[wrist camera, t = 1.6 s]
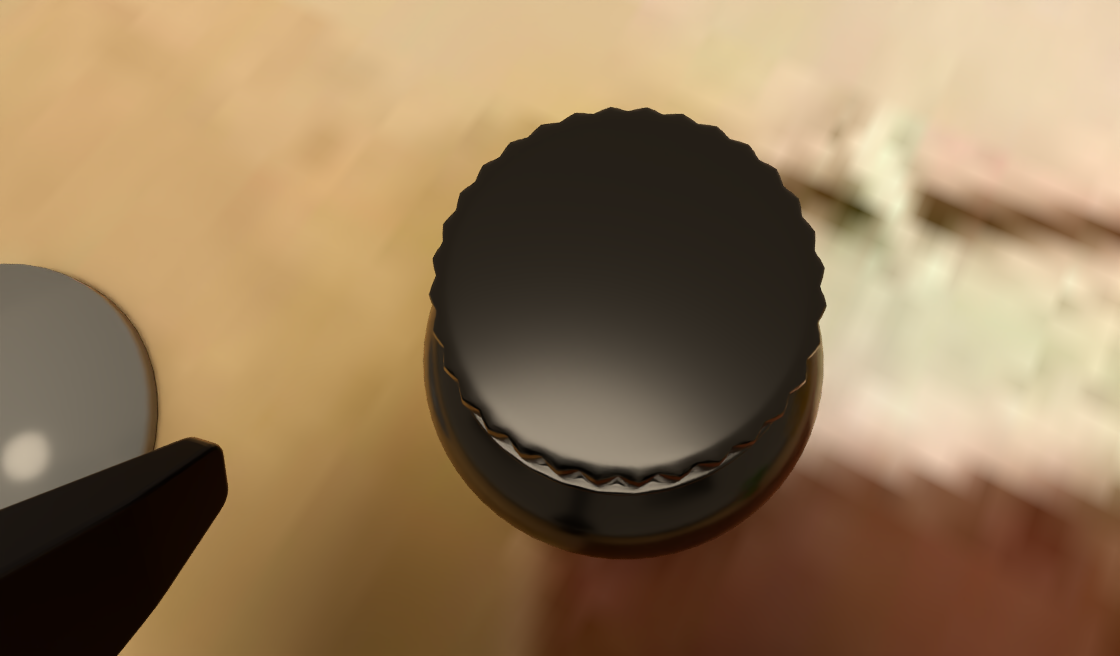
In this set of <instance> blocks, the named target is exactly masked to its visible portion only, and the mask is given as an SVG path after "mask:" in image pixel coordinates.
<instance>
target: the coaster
mask: <svg viewBox="0 0 1120 656" xmlns="http://www.w3.org/2000/svg"><path fill="white" fill-rule="evenodd" d="M156 425H157V392H156V386H155V380H154V374H153V370H152V366H151V363H150V360H149V357H148V354H147V351H146V349H145V347H144V345H143V343H142V341H141V339H140V336H139V334H138V332H137V331H136V330H135V328H134V327H133V325H132V324H131V322H130V321H129V320H128V318H127V317H126V315H125V314H124V313H123V312H122V311H121V310H120V309H119V308H118V307H117V306H116V305H115V304H114V303H113V302H112V301H110V300H109V299H108V298H106V297H105V296H104V295H102V294H101V293H100V292H98V291H97V290H95V289H93V288H91V287H89V286H87V285H86V284H84V283H82V282H80V281H78V280H75V279H73V278H71V277H69V276H67V275H64V274H61V273H58V272H55V271H52V270H50V269H47V268H42V267H36V266H31V265H24V264H0V509H3V508H5V507H8V506H11V505H13V504H16V503H18V502H21V501H24V500H26V499H29V498H31V497H34V496H36V495H39V494H42V493H44V492H47V491H49V490H52V489H55V488H57V487H60V486H62V485H65V484H68V483H70V482H73V481H75V480H78V479H81V478H83V477H86V476H88V475H91V474H93V473H96V472H99V471H101V470H104V469H106V468H109V467H112V466H114V465H117V464H119V463H122V462H125V461H127V460H130V459H132V458H135V457H138V456H140V455H143V454H145V453H148V452H151V451H153V447H154V443H155V436H156Z"/></svg>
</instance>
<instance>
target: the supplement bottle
mask: <svg viewBox="0 0 1120 656" xmlns="http://www.w3.org/2000/svg"><path fill="white" fill-rule="evenodd" d="M433 265H434V270H435V274H436V277H435V279H434V282H433V284H432V287H431V290H430V293H429V297H430V300H431V303H432V307H431V311H430V315H429V319H428V323H427V328H426V335H425V341H424V358H423V365H424V383H425V389H426V396H427V402H428V406H429V410H430V414H431V418H432V421H433V424H434V426H435V429H436V432H437V435H438V437H439V440H440V442H441V444H442V446H443V448H444V450H445V452H446V454H447V456H448V458H449V459H450V461H451V462H452V464H453V466H454V467H455V469H456V471H457V472H458V473H459V475H460V476H461V477H462V479H463V480H464V481H465V483H466V484H467V485H468V487H469V488H470V489H471V490H472V491H473V492H474V493H475V494H476V495H477V496H478V498H479V499H480V500H481V501H482V502H483V503H484V504H485V505H487V506H488V507H489V508H490V509H491V510H492V511H493V512H495V513H496V514H497V515H498V516H499V517H501V518H502V519H504V520H505V521H506V522H508V523H509V524H511V525H512V526H514V527H515V528H517V529H518V530H520V531H522V532H524V533H525V534H527V535H529V536H531V537H533V538H535V539H537V540H539V541H542V542H544V543H546V544H548V545H551V546H553V547H556V548H559V549H562V550H565V551H569V552H572V553H576V554H581V555H585V556H590V557H597V558H606V559H643V558H653V557H659V556H664V555H669V554H674V553H678V552H681V551H684V550H687V549H690V548H693V547H697V546H699V545H701V544H703V543H706V542H708V541H710V540H713V539H715V538H717V537H719V536H720V535H722V534H724V533H726V532H727V531H729V530H731V529H733V528H734V527H736V526H737V525H739V524H740V523H741V522H743V521H744V520H746V519H747V518H748V517H750V516H751V515H752V514H753V513H754V512H756V511H757V510H758V509H759V508H760V507H761V506H762V505H764V504H765V503H766V502H767V501H768V500H769V499H770V497H771V496H772V495H773V494H774V493H775V492H776V491H777V490H778V489H779V488H780V486H781V485H782V484H783V482H784V481H785V480H786V478H787V477H788V475H789V474H790V473H791V471H792V470H793V468H794V466H795V465H796V463H797V461H798V460H799V458H800V456H801V454H802V453H803V450H804V448H805V446H806V444H807V442H808V439H809V437H810V435H811V432H812V429H813V426H814V423H815V420H816V417H817V412H818V408H819V403H820V399H821V393H822V384H823V358H824V356H823V346H822V336H821V331H820V326H819V320H820V319H821V318H822V316H823V313H824V311H825V309H826V306H827V305H826V301H825V298H824V295H823V293H822V291H821V287H820V285H821V282H822V278H823V274H824V269H825V268H824V266H823V264H822V262H821V260H820V258H819V257H818V256H817V254H816V252H815V231H814V230H813V229H812V227H811V226H810V225H809V223H808V222H807V221H806V220H805V219H804V218H803V217H802V213H801V206H800V202H799V198H797V197H796V196H795V195H794V194H793V193H792V192H790V191H789V190H787V189H786V188H785V187H784V186H783V184H782V181H781V178H780V175H779V173H778V171H777V169H775V168H774V167H772V166H770V165H769V164H766V163H764V162H762V161H760V160H759V159H758V158H757V156H756V154H755V152H754V151H753V150H752V148H751V147H750V146H749V145H748V144H745V143H742V142H739V141H735V140H732V139H729V138H728V137H727V136H726V135H725V133H724V132H723V131H722V130H720V129H719V128H718V127H717V126H711V125H703V124H697V123H696V122H694V121H693V120H692V119H690V118H689V117H687V116H685V115H684V114H666V115H663V114H661V113H658V112H657V111H655V110H653V109H650V108H641V109H636V110H632V111H625V110H621V109H618V108H613V107H610V108H607V109H604V110H601V111H599V112H597V113H595V114H586V113H574V114H572V115H571V116H569V117H567V118H566V119H564V120H563V121H561V122H560V123H550V124H544V125H541V126H539V127H538V128H537V129H536V130H535V131H534V132H533V133H532V134H531V135H530V136H529V137H527V138H524V139H520V140H516V141H513V142H511V143H510V144H509V145H508V146H507V147H506V148H505V150H504V151H503V153H502V154H501V156H500V157H499V158H497V159H495V160H493V161H490V162H488V163H486V164H485V165H483V166H482V168H481V170H480V172H479V174H478V176H477V179H476V181H475V182H474V183H473V184H472V185H470V186H468V187H467V188H466V189H464V190H463V191H462V192H461V193H460V196H459V199H458V203H457V208H456V211H455V212H454V213H453V214H452V215H451V216H450V217H449V218H448V219H447V220H446V222H445V223H444V224H443V242H442V244H441V246H440V248H439V249H438V250H437V251H436V253H435V255H434V257H433Z"/></svg>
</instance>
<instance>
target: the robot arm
mask: <svg viewBox="0 0 1120 656" xmlns="http://www.w3.org/2000/svg"><path fill="white" fill-rule="evenodd" d="M227 494H228V483H227V476H226V469H225V462H224V455H223V450H222V449H221V447H220V446H219V445H217V444H215V443H212V442H209V441H206V440H203V439H199V438H195V437H189V438H185V439H182V440H179V441H176V442H174V443H171V444H169V445H166V446H163V447H161V448H158V449H156V450H153V451H151V452H148V453H145V454H143V455H140V456H138V457H135V458H132V459H130V460H127V461H125V462H122V463H119V464H117V465H114V466H112V467H109V468H106V469H104V470H101V471H99V472H96V473H93V474H91V475H88V476H86V477H83V478H81V479H78V480H75V481H73V482H70V483H68V484H65V485H62V486H60V487H57V488H55V489H52V490H49V491H47V492H44V493H42V494H39V495H36V496H34V497H31V498H29V499H26V500H24V501H21V502H18V503H16V504H13V505H11V506H8V507H5V508H3V509H0V656H117V655H118V654H119V653H120V652H121V650H122V649H123V648H124V647H125V645H126V644H127V643H128V642H129V641H130V639H131V638H132V637H133V636H134V634H135V633H136V632H137V631H138V629H139V628H140V627H141V626H142V624H143V623H144V622H145V621H146V619H147V618H148V617H149V615H150V614H151V613H152V612H153V610H154V609H155V608H156V606H157V605H158V603H159V602H160V601H161V599H162V598H163V596H164V595H165V594H166V592H167V591H168V589H169V588H170V586H171V585H172V583H173V582H174V580H175V579H176V577H177V576H178V574H179V573H180V571H181V569H182V568H183V566H184V565H185V563H186V562H187V560H188V559H189V557H190V556H191V554H192V553H193V551H194V550H195V548H196V547H197V545H198V544H199V542H200V541H201V539H202V538H203V536H204V535H205V533H206V532H207V530H208V529H209V527H210V526H211V524H212V522H213V521H214V519H215V518H216V516H217V515H218V513H219V512H220V510H221V509H222V507H223V505H224V503H225V501H226V498H227Z"/></svg>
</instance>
